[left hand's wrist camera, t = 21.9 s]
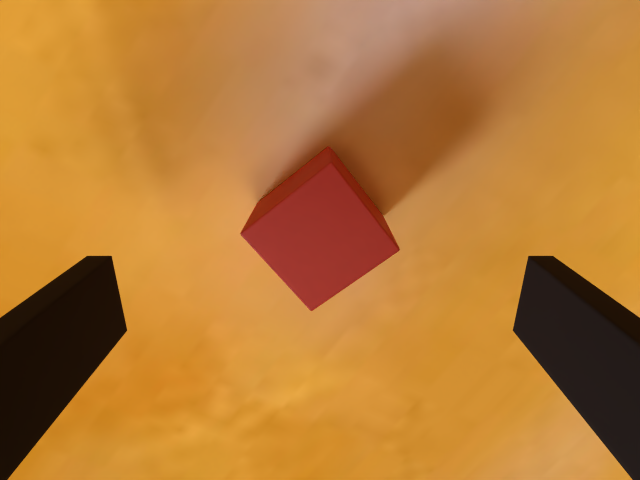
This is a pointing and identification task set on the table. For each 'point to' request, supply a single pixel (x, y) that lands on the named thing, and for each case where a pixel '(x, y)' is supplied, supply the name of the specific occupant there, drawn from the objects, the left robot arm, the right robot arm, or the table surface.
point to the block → (319, 230)
